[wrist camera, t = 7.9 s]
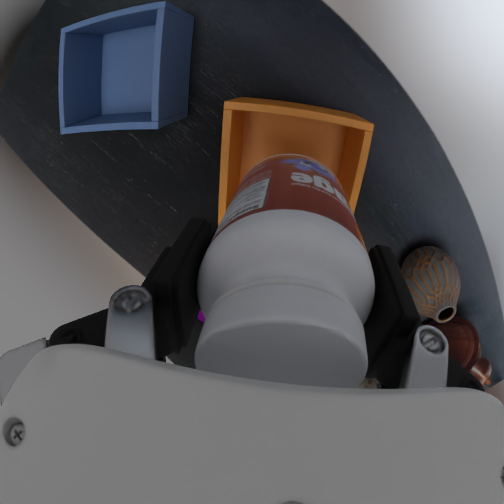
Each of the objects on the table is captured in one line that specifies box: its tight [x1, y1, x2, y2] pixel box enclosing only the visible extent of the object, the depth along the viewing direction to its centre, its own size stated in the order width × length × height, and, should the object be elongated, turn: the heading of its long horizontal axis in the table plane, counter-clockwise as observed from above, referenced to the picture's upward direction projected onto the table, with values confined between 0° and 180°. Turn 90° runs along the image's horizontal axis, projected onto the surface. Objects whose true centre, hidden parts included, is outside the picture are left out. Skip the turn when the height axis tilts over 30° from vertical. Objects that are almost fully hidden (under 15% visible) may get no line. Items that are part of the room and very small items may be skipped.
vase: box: [401, 246, 460, 323], centre depth 25 cm, size 7×7×9 cm
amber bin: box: [218, 97, 374, 227], centre depth 22 cm, size 10×10×6 cm
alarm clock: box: [427, 316, 491, 386], centre depth 28 cm, size 11×5×15 cm, turn 128°
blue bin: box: [59, 1, 194, 134], centre depth 19 cm, size 10×10×6 cm
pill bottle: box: [195, 154, 375, 389], centre depth 11 cm, size 6×6×11 cm
